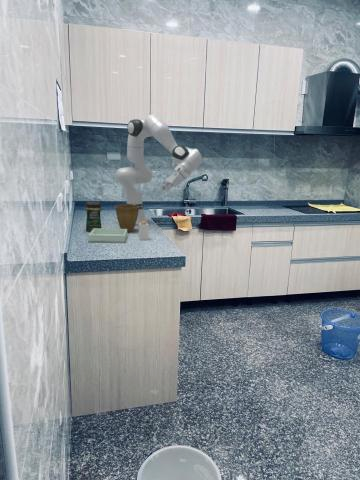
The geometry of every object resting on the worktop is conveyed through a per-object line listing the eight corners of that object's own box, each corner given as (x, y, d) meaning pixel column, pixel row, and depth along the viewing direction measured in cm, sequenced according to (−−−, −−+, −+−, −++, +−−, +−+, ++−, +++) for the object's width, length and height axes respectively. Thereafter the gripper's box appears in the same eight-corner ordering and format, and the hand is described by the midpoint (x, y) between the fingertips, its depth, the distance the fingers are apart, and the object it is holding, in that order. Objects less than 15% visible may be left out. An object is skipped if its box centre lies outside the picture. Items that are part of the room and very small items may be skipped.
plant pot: (140, 233, 223) (140, 207, 219) (115, 233, 220) (115, 207, 216) (137, 228, 237) (138, 204, 233) (115, 228, 234) (115, 204, 230)
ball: (141, 225, 208) (141, 220, 208) (146, 225, 208) (146, 220, 208) (140, 226, 205) (140, 221, 205) (146, 226, 206) (146, 221, 205)
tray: (93, 234, 214) (93, 228, 213) (127, 235, 216) (127, 229, 215) (88, 242, 197) (88, 235, 196) (124, 242, 198) (124, 235, 197)
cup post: (147, 237, 212) (147, 222, 210) (148, 239, 207) (148, 224, 205) (138, 238, 210) (138, 223, 208) (139, 240, 206) (139, 224, 204)
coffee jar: (85, 232, 221) (85, 202, 217) (86, 229, 229) (85, 200, 224) (101, 231, 223) (101, 202, 219) (101, 229, 231) (101, 200, 226)
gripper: (173, 168, 214) (157, 184, 214) (181, 169, 194) (163, 187, 194) (180, 176, 216) (164, 192, 216) (188, 177, 196) (171, 195, 196)
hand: (164, 189), depth 205 cm, fingers open, 8 cm apart
